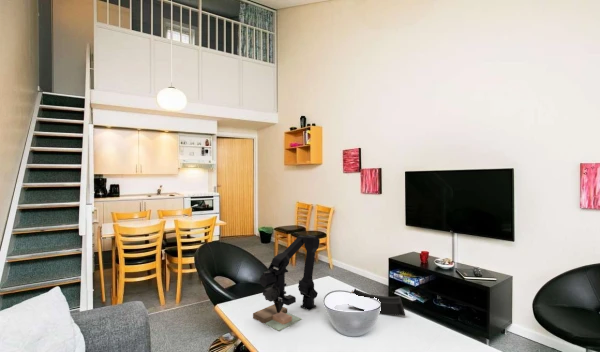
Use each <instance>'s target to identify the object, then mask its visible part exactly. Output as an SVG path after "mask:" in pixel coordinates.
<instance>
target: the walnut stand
mask: <svg viewBox="0 0 600 352" xmlns="http://www.w3.org/2000/svg"><path fill="white" fill-rule="evenodd" d="M280 312H283V313H285V314H286V313H288V308H287V307H284V306H283V307H282V309H281V311H280ZM274 314H277V310H276V307H275V304H272V305H269V306H267V307H264V308H262V309H259V310H257V311H255V312H253V313H252V319H254V320H256V321H258V322H260V323H262V324H263V325H266V324H265V323H267V322H269V321H271V320H273V319H272V315H274Z"/></svg>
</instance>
